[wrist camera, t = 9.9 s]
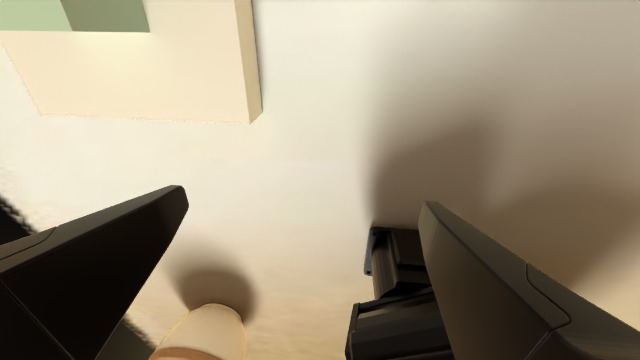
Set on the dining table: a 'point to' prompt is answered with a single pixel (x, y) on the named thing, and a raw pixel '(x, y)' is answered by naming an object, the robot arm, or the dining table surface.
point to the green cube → (73, 15)
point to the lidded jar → (205, 336)
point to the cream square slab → (147, 66)
